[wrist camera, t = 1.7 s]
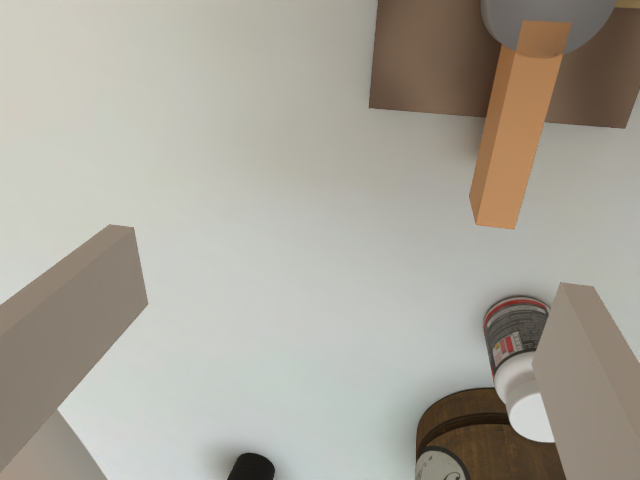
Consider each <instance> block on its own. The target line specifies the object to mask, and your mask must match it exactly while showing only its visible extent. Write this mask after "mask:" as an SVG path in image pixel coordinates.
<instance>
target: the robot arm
mask: <svg viewBox="0 0 640 480" xmlns="http://www.w3.org/2000/svg"><path fill="white" fill-rule="evenodd" d="M147 305H148V300H147V295H146V290H145V284H144V279H143V274H142V269H141V263H140V258H139V253H138V247H137V242H136V237H135V231H134V227H126V226H118V225H111V224H109V225H108V226H107V227H105V228H104V229H103V230H101V231H100V232H99V233H97V234H96V235H95V236H93V237H92V238H90V239H89V240H88V241H86V242H85V243H84V244H82V245H81V246H80V247H78V248H77V249H76V250H74V251H73V252H72V253H70V254H69V255H68V256H66V257H65V258H63V259H62V260H61V261H59V262H58V263H57V264H55V265H54V266H53V267H51V268H50V269H49V270H47V271H46V272H45V273H43V274H42V275H41V276H39V277H38V278H36V279H35V280H34V281H32V282H31V283H30V284H28V285H27V286H26V287H24V288H23V289H22V290H20V291H19V292H18V293H16V294H15V295H14V296H12V297H11V298H9V299H8V300H7V301H5V302H4V303H3V304H1V305H0V473H1V472H2V471H3V470H4V468H5V467H6V466H7V465H8V464H9V463H10V461H11V460H12V459H13V458H14V457H15V456H16V455H17V454H18V452H19V451H20V450H21V449H22V448H23V447H24V446H25V444H26V443H27V442H28V441H29V440H30V439H31V438H32V436H33V435H34V434H35V433H36V432H37V431H38V430H39V428H40V427H41V426H42V425H43V424H44V423H45V421H46V420H47V419H48V418H49V417H50V416H51V415H52V414H53V412H54V411H55V410H56V409H57V408H58V407H59V406H60V405H61V403H62V402H63V401H64V400H65V399H66V398H67V397H68V395H69V394H70V393H71V392H72V391H73V390H74V389H75V387H76V386H77V385H78V384H79V383H80V382H81V381H82V379H83V378H84V377H85V376H86V375H87V374H88V373H89V371H90V370H91V369H92V368H93V367H94V366H95V365H96V363H97V362H98V361H99V360H100V359H101V358H102V357H103V355H104V354H105V353H106V352H107V351H108V350H109V349H110V347H111V346H112V345H113V344H114V343H115V342H116V341H117V339H118V338H119V337H120V336H121V335H122V334H123V333H124V331H125V330H126V329H127V328H128V327H129V326H130V325H131V323H132V322H133V321H134V320H135V319H136V318H137V317H138V315H139V314H140V313H141V312H142V311H143V310H144V309H145V307H146V306H147ZM531 365H532V368H533V371H534V374H535V378H536V381H537V384H538V388H539V391H540V394H541V397H542V401H543V404H544V407H545V411H546V414H547V417H548V421H549V424H550V427H551V430H552V434H553V437H554V440H555V444H556V447H557V450H558V453H559V457H560V460H561V463H562V467H563V470H564V473H565V476H566V480H640V364H639V362H638V360H637V359H636V357H635V355H634V354H633V352H632V350H631V349H630V347H629V345H628V344H627V342H626V340H625V339H624V337H623V335H622V334H621V332H620V330H619V329H618V327H617V325H616V324H615V322H614V320H613V319H612V317H611V315H610V313H609V312H608V310H607V308H606V307H605V305H604V303H603V302H602V300H601V298H600V297H599V295H598V293H597V292H596V290H595V288H594V287H593V286H585V285H577V284H570V283H562V282H560V285H559V288H558V291H557V293H556V296H555V299H554V302H553V305H552V307H551V310H550V313H549V316H548V319H547V321H546V324H545V327H544V330H543V333H542V335H541V338H540V341H539V344H538V347H537V349H536V352H535V355H534V358H533V361H532V364H531Z"/></svg>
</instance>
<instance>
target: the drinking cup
mask: <svg viewBox="0 0 640 480" xmlns="http://www.w3.org/2000/svg"><path fill="white" fill-rule="evenodd" d="M274 473H275V469H274V466H273V465H272V463H271V462H270V461H269V460H268V459H266V458H265V457H263V456H260V455H257V454H253V453H247V454H243V455H241V456H240V457H239V458H238V459H237V461H236V463H235V465H234V467H233V469H232V471H231V473H230V475H229V477H228V479H227V480H273V478H274Z"/></svg>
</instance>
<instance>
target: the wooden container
mask: <svg viewBox="0 0 640 480" xmlns="http://www.w3.org/2000/svg"><path fill="white" fill-rule="evenodd" d="M415 480H566V476H565V473H564V470H563V467H562V463H561V460H560V457H559V453H558V450H557V447H556V444H555V442H538V441H534V440H530V439H528V438H526V437H524V436H522V435H520V434H519V433H518V432H516V431H515V430H514V428H513V427H512V425H511V423H510V421H509V417H508V413H507V409H506V404H505V403H504V402H503V401H502V400H501V399H500V397H499V396H498V394H497V392H496V389H476V390H469V391H464V392H460V393H457V394H454V395H451V396H449V397H446V398H444V399H442V400H441V401H439V402H437V403H436V404H434V405H433V406H432V407H431V408H429V409H428V410H427V411H426V413H425V414H424V415H423V417H422V418H421V420H420V422H419V425H418V429H417V438H416V469H415Z"/></svg>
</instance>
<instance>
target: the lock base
mask: <svg viewBox="0 0 640 480" xmlns="http://www.w3.org/2000/svg"><path fill="white" fill-rule="evenodd" d="M501 46H502V44H501V43H499V42H498V41H497V40H496V39H494V38H493V37H492V36H491V34H490V33H489V32H488V30H487V28H486V27H485V24H484V22H483V19H482V15H481V0H378V9H377V21H376V32H375V43H374V55H373V66H372V78H371V89H370V101H369V108H375V109H387V110H400V111H412V112H424V113H437V114H449V115H462V116H474V117H486V116H487V111H488V106H489V102H490V97H491V92H492V88H493V83H494V78H495V74H496V69H497V64H498V60H499V55H500V50H501ZM639 89H640V0H617V2H616V5H615V7H614V9H613V11H612V13H611V15H610V17H609V18H608V20H607V21H606V23H605V24H604V25H603V27H602V28H601V29H600V30H599V31H598V32H597V33H596V34H595V35H594V36H593V37H592V38H591V39H590V40H589V41H587V42H586V43H585V44H583V45H582V46H580V47H579V48H577V49H575V50H573V51H571V52H569V53H567V54H564V55H563V57H562V60H561V64H560V67H559V71H558V75H557V78H556V82H555V85H554V89H553V93H552V96H551V100H550V103H549V107H548V111H547V114H546V118H545V121H544V122H549V123H561V124H574V125H586V126H598V127H611V128H623V129H625V127H626V124H627V122H628V119H629V116H630V114H631V111H632V108H633V105H634V103H635V100H636V97H637V95H638V92H639Z"/></svg>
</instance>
